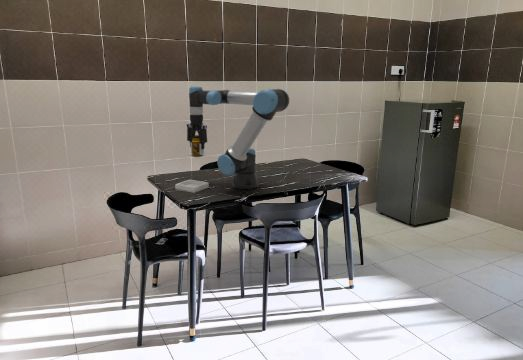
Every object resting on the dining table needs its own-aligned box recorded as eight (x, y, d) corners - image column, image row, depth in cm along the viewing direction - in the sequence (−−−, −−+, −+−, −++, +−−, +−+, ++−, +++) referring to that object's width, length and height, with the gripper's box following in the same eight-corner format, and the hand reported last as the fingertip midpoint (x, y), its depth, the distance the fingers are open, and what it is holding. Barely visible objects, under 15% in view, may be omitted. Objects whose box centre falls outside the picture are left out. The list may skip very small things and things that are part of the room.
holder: (208, 187, 231) (208, 182, 230) (194, 192, 220) (194, 187, 219) (189, 184, 238) (189, 179, 237) (175, 189, 227) (175, 184, 226)
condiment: (196, 157, 228) (196, 137, 225) (187, 155, 233) (186, 135, 230) (206, 155, 233) (205, 135, 230) (196, 153, 238) (195, 134, 235)
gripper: (213, 114, 224) (214, 154, 230) (188, 112, 234) (189, 151, 240) (204, 115, 218) (205, 156, 224) (179, 113, 228) (181, 152, 234)
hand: (197, 153), depth 232 cm, fingers closed on condiment, 6 cm apart
